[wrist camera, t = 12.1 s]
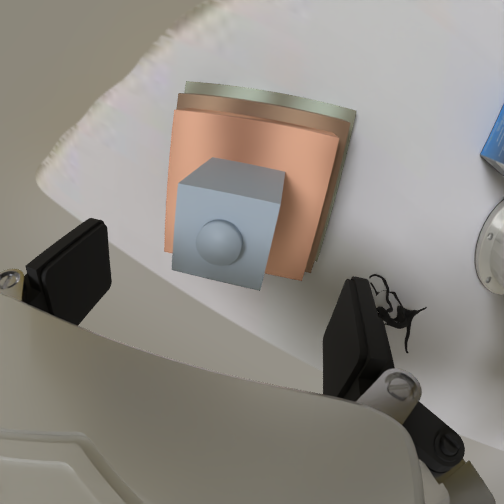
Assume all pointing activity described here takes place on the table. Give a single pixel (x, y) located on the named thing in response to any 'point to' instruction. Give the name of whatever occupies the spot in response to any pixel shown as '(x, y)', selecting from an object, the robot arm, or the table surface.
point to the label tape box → (496, 145)
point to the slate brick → (226, 221)
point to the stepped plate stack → (266, 158)
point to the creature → (402, 313)
